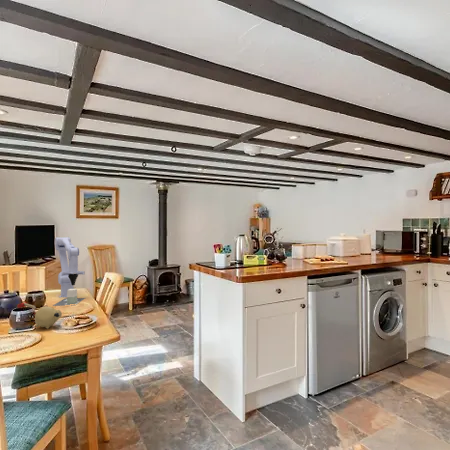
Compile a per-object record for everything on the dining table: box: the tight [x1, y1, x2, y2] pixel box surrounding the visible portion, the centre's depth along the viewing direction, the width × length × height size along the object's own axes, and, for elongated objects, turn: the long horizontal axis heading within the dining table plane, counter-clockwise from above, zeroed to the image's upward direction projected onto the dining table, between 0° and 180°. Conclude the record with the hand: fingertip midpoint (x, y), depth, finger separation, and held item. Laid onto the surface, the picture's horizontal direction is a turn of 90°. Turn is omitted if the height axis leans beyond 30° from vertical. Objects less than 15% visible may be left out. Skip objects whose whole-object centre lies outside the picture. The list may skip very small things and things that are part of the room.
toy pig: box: [34, 306, 63, 330], centre depth 159 cm, size 10×12×11 cm
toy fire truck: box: [16, 301, 37, 311], centre depth 169 cm, size 3×14×10 cm, turn 84°
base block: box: [66, 295, 78, 304], centre depth 206 cm, size 4×4×4 cm
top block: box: [66, 288, 78, 298], centre depth 206 cm, size 4×4×4 cm
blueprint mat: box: [52, 297, 86, 307], centre depth 210 cm, size 20×14×1 cm
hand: (73, 285), depth 216 cm, fingers closed
